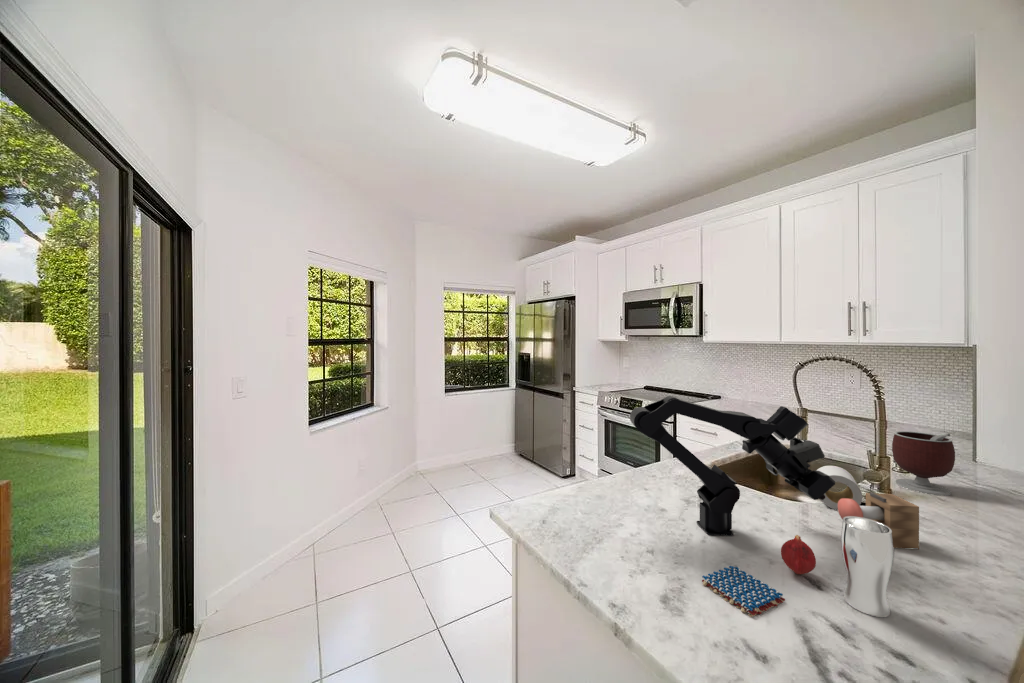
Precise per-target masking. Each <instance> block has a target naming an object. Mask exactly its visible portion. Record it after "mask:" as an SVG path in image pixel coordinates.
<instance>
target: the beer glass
mask: <svg viewBox="0 0 1024 683" xmlns="http://www.w3.org/2000/svg"><path fill="white" fill-rule="evenodd" d="M840 542H841V543H840V546H841V553H842V558H843V563H844V564H843V565H844V567H845V573H846V585H845V586H846V587H845V590H844V594H843V597H844V601H845V602H846V603H847V604H848V605H849V606H851V607H852V608H853V609H855V610H857V611H859V612H861V613H862V614H866V615H868V616H872V617H876V618H887V617H889V616H890V614H891V611H890V610H891V609H890V606H889V600H888V596H887V595H888V594H887V593H888V587H889V586H888V585H889V581H890V578H891V574H892V570H893V566H894V554H895V553H894V548H893V540H892V530H891V529H890V528H889V527H888V526H886V525H884V524H882V523H879V522H877V521H874V520H871V519H867V518H862V517H856V516H846V517H844V518H843V520H842V526H841V538H840Z"/></svg>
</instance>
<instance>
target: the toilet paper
mask: <svg viewBox="0 0 1024 683" xmlns="http://www.w3.org/2000/svg"><path fill="white" fill-rule="evenodd" d="M815 471H821V472H822V473H824V474H826V475H828V476H830V477H831V478H832V479H833V480H834V481H835V483H840V484H843V485H846V488H844V490H841V491H832V490H831V489H829V490H828V491H827V492H826V493H825V494H824V495H825V499H823V500H821V499H819V500H820V501H821V502H822V503H823V504H824V505H826V507H829V508H830V509H833V510H835V511H838V501H839V500H840V499H842V498H847V499H853V500H855V501H856V502H857V503H858V504H859V506H861V504H862V501H863V493H862V491H861V488H860V487H859V485H858V483H857V481H856V480H855V478H854V477H853V475H852V474H851V473H850V471H847V469H845V468H842V467H840V466H835V465H824V466H821V467H819V468H817V469H816V470H815Z"/></svg>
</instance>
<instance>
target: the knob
mask: <svg viewBox="0 0 1024 683" xmlns="http://www.w3.org/2000/svg"><path fill="white" fill-rule="evenodd" d="M837 512H838V514H839V516H840V518H841V520H842V521H843V518H844V517H846V516H856V517H862V518H867V519H873V520H885V510H884V509H883V508H882V507H877V506H866V505H859V504H858V503H857V502H856V501H855V500H853V499H847V498H842V499H840V500H839V501H838V510H837Z"/></svg>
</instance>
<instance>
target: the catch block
mask: <svg viewBox="0 0 1024 683" xmlns="http://www.w3.org/2000/svg"><path fill="white" fill-rule="evenodd" d="M865 506H877V507H882V508H883V509H884V510H885V520H874V521H877V522H879V523H882V524H884V525H886V526H888V527H889V528H890V529H891V530H892V540H893V549H905V548H918V549H917V550H919V549H920V506H919V505H916V504H914V503H913V502H910V501H908V500H905V499H904V498H901V497H899V496H897V495H895V494H893V493H890V494H889V493H878V492H877V493H875V492H872V491H871V492H865ZM871 520H873V519H871Z"/></svg>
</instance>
